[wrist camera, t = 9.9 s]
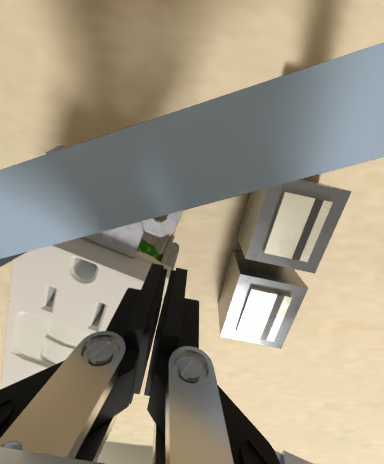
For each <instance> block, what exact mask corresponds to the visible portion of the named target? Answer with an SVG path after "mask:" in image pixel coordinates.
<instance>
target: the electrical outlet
mask: <svg viewBox="0 0 384 464" xmlns="http://www.w3.org/2000/svg"><path fill="white" fill-rule="evenodd" d="M65 148H66V147H63V146H58V147H56V148H54V149H52V150H50V151H48V152H46V154H49V153H53V152H56V151H59V150H62V149H65ZM182 211H183V210H182ZM182 211H179V212H175V213H171V214H168V216H167V219H166V220H164V221H158V220H156V219H155V218H152V219H148V220H145V221H141V222H137V223H133V224H130V225H126V226H122V227H118V228H115V229H111V230H107V231H103V232H100V233H96V234H92V235H88V236H85V237H81V238H77V239H73V240H69V241H66V242H62V243H58V244H54V245H51V246H47V247H43V248H39V249H36V250H32V251H28V252H26V253H24V254H23V255H21V256H19V257H17V258H15V259H14V260H13V263H12V273H11V283H10V293H9V304H8V314H7V324H6V334H5V345H4V355H3V365H2V375H1V386H0V389H2V388H5V387H7V386H9V385H11V384H14V383H16V382H18V381H20V380H22V379H25V378H27V377H29V376H31V375H33V374H36V373H38V372H40V371H42V370H44V369H47V368H49V367H51V366H53V365H55V364H58V363H60V362H62V361H64V360H66V359H67V357H68V356H69V355H70V354H71V353H72V351H73V350H74V349H75V348H76V347H77V345H78V344H79V343H80V342H81V341H82V340H83V339H84V338H85V337H87V336H89V335H90V334H92V333H96V332H99V331H106V329H107V327H108V325H109V323H110V321H111V319H112V317H113V315H114V313H115V312H116V310H117V308H118V306H119V304H120V302H121V300H122V298H123V296H124V294H125V292H126V290H127V289H128V288H134V289H139V290H141V288H142V286H143V284H144V281H145V279H146V277H147V274H148V272H149V269H150V267H151V265H152V263H154V264H160V265H164V269H167V275H166V281H165V286H164V291H163V296H164V295H165V293H166V289H167V285H168V281H169V277H170V272H171V270H173V269H174V265H175V262H176V258H177V255H178V252H179V246H178V244H177V243H173V239H174V235H171V236H170V237H167V236H166V235H169V234H172V233H173V232H174V230H175V228H176V225H177V223H178V221H179V218H180V216H181V214H182ZM162 299H163V297H162Z"/></svg>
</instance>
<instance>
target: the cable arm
mask: <svg viewBox="0 0 384 464" xmlns="http://www.w3.org/2000/svg"><path fill="white" fill-rule="evenodd" d="M382 157H384V42H383V43H380V44H377V45H374V46H371V47H368V48H365V49H362V50H359V51H356V52H353V53H350V54H347V55H344V56H341V57H338V58H335V59H332V60H329V61H326V62H323V63H320V64H317V65H314V66H311V67H308V68H305V69H302V70H299V71H296V72H293V73H290V74H287V75H284V76H281V77H278V78H275V79H272V80H269V81H266V82H263V83H260V84H257V85H254V86H251V87H248V88H245V89H242V90H239V91H236V92H233V93H230V94H227V95H224V96H221V97H218V98H215V99H212V100H209V101H206V102H203V103H200V104H197V105H194V106H191V107H188V108H185V109H182V110H179V111H176V112H173V113H170V114H167V115H164V116H161V117H158V118H155V119H152V120H149V121H146V122H143V123H140V124H137V125H134V126H131V127H128V128H125V129H122V130H119V131H116V132H113V133H110V134H107V135H104V136H101V137H98V138H95V139H92V140H89V141H86V142H83V143H80V144H77V145H74V146H71V147H68V148H65V149H62V150H59V151H56V152H53V153H49V154H46V155H43V156H40V157H37V158H34V159H31V160H28V161H25V162H22V163H19V164H16V165H13V166H10V167H7V168H4V169H1V170H0V267H1V266H3V265H5V264H6V263H8V262H10V261H12V260H14V259H15V258H17V257H19V256H21V255H23V254H24V253H26V252H28V251H32V250H36V249H39V248H43V247H47V246H51V245H54V244H58V243H62V242H66V241H69V240H73V239H77V238H81V237H85V236H88V235H92V234H96V233H100V232H103V231H107V230H111V229H115V228H118V227H122V226H126V225H130V224H133V223H137V222H141V221H145V220H148V219H152V218H156V217H160V216H164V215H167V214H171V213H175V212H179V211H182V210H186V209H190V208H194V207H197V206H201V205H205V204H209V203H212V202H216V201H220V200H224V199H227V198H231V197H235V196H239V195H243V194H246V193H250V192H254V191H258V190H261V189H265V188H269V187H273V186H276V185H280V184H284V183H288V182H291V181H295V180H299V179H303V178H306V177H310V176H314V175H318V174H321V173H325V172H329V171H333V170H337V169H340V168H344V167H348V166H352V165H355V164H359V163H363V162H367V161H370V160H374V159H378V158H382Z"/></svg>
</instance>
